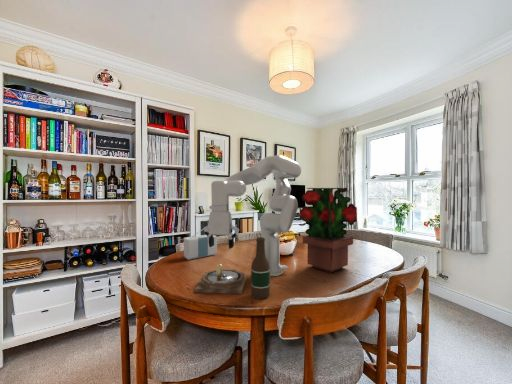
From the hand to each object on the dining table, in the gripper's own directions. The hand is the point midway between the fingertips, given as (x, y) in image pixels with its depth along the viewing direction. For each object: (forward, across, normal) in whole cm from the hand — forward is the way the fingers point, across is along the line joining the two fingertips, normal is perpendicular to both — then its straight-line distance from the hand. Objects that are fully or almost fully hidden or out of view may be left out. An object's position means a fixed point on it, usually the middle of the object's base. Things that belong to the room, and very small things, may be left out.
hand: (221, 247), depth 108 cm
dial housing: (+18, -2, +4) cm, 19 cm away
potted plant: (+20, +43, +45) cm, 65 cm away
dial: (+17, -2, +5) cm, 17 cm away
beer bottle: (+19, +18, -1) cm, 26 cm away
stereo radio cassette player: (+19, -37, +40) cm, 58 cm away
